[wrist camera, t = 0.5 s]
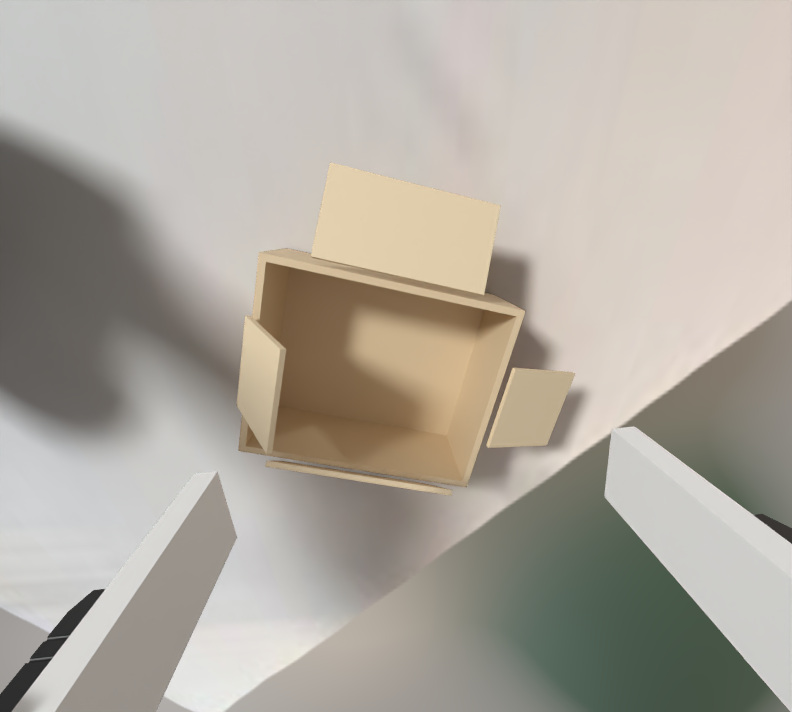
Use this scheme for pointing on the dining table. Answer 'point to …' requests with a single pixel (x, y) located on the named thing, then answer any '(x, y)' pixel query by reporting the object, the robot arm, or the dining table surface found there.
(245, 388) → the flap
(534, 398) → the flap
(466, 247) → the flap
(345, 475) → the flap
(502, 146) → the dining table surface
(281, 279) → the carton
